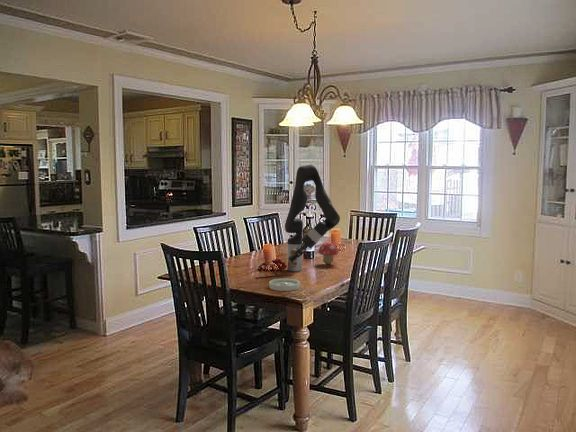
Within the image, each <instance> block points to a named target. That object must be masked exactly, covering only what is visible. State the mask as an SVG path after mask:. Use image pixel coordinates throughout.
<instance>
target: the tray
mask: <svg viewBox="0 0 576 432" xmlns="http://www.w3.org/2000/svg"><path fill="white" fill-rule="evenodd" d="M300 281H301V280H298V279H295V278H273V279H272V280H270V281H269V282H268V284H269V285H268V287H269V288H268V289H271V290H274V291H280V292H289V291H290V292H291V291H296V290H298V289H301V282H300Z"/></svg>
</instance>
